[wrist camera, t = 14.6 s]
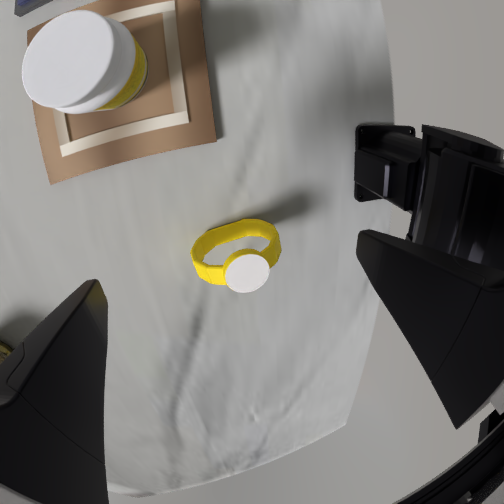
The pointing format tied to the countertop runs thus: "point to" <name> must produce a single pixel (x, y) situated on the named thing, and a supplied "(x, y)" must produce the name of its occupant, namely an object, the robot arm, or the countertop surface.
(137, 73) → the supplement bottle
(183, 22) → the marked board
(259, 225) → the watch
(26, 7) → the ink pad
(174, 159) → the countertop surface
